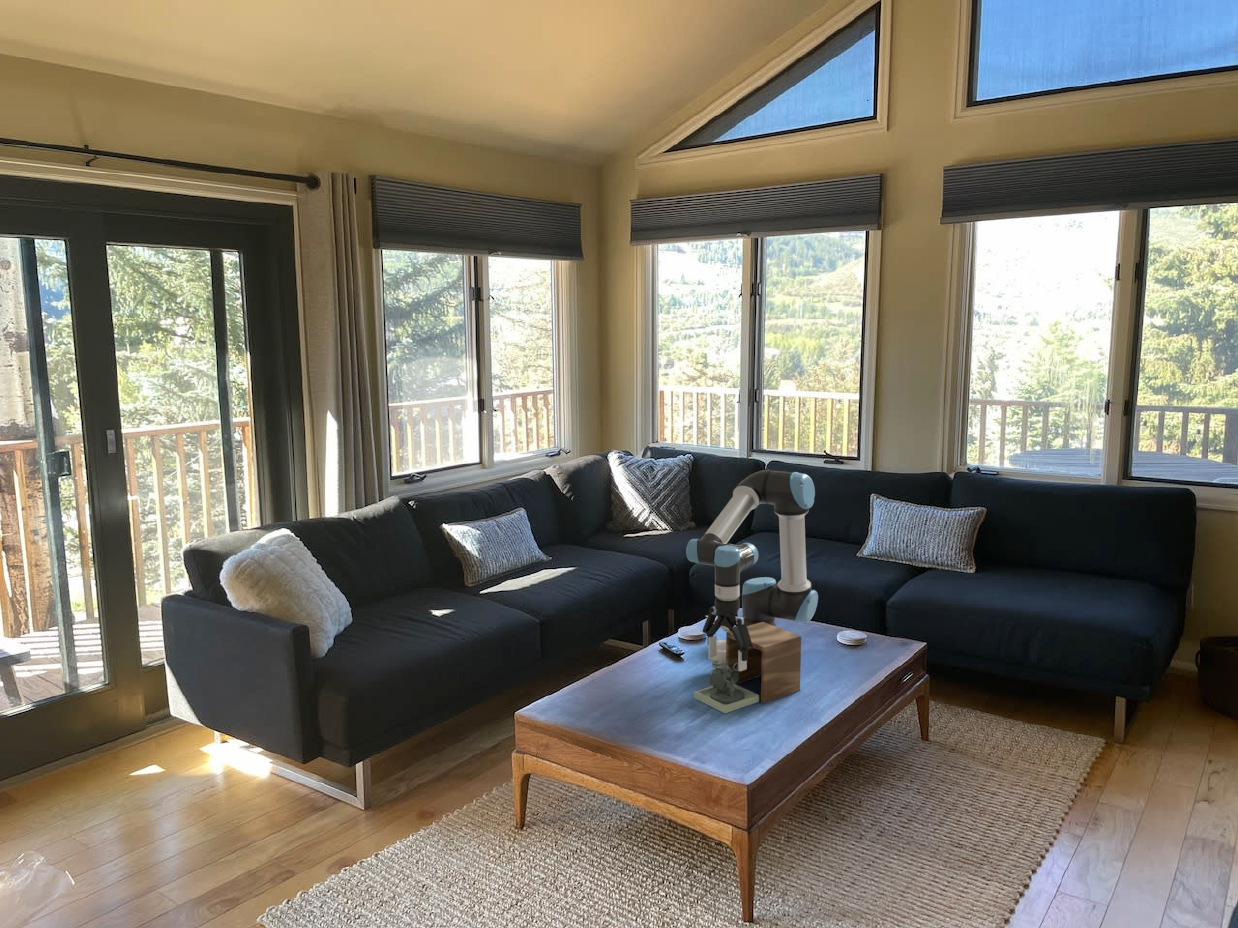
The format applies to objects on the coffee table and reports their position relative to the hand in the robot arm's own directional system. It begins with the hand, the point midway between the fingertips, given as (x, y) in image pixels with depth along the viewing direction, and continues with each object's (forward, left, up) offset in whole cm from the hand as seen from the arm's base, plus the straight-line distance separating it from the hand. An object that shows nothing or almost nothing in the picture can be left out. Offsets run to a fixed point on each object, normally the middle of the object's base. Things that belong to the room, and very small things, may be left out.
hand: (727, 663), depth 294 cm
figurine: (0, 0, -11) cm, 11 cm away
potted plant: (-16, +13, -12) cm, 24 cm away
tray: (0, 0, -12) cm, 12 cm away
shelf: (0, +15, -12) cm, 19 cm away
